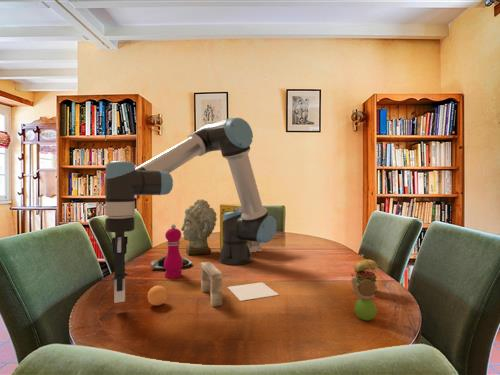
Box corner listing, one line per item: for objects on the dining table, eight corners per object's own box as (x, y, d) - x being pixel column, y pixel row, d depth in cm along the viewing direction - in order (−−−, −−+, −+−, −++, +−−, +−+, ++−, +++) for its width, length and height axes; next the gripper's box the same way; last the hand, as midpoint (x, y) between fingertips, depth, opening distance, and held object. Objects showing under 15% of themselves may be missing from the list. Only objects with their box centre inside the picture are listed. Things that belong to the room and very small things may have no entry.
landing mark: (262, 282, 106) (262, 282, 106) (278, 295, 93) (278, 294, 93) (227, 287, 101) (227, 286, 101) (240, 301, 89) (240, 300, 89)
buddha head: (179, 250, 160) (179, 199, 160) (213, 248, 166) (213, 198, 166) (182, 257, 144) (182, 200, 144) (219, 254, 150) (219, 199, 150)
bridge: (209, 289, 99) (209, 261, 99) (222, 305, 86) (222, 273, 86) (201, 290, 98) (201, 262, 98) (212, 306, 85) (212, 274, 85)
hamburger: (366, 296, 92) (366, 258, 92) (349, 289, 99) (349, 253, 99) (383, 292, 96) (383, 255, 96) (365, 286, 102) (365, 251, 102)
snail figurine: (347, 315, 79) (347, 270, 79) (370, 314, 79) (370, 270, 79) (356, 324, 73) (356, 276, 73) (380, 323, 74) (380, 276, 74)
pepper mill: (177, 279, 110) (177, 225, 110) (160, 278, 111) (160, 225, 111) (185, 273, 117) (185, 223, 117) (169, 272, 118) (169, 223, 118)
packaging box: (238, 255, 148) (238, 205, 148) (219, 250, 160) (219, 204, 160) (261, 250, 159) (261, 204, 159) (242, 246, 171) (242, 203, 171)
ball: (166, 300, 89) (166, 282, 89) (168, 306, 84) (168, 287, 84) (147, 302, 87) (147, 284, 87) (148, 309, 82) (148, 290, 82)
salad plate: (145, 262, 136) (145, 252, 136) (184, 258, 143) (184, 249, 143) (151, 273, 118) (151, 262, 118) (195, 268, 126) (195, 257, 126)
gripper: (107, 215, 87) (106, 295, 87) (103, 219, 75) (102, 312, 75) (134, 214, 90) (133, 291, 89) (134, 218, 77) (134, 308, 77)
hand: (119, 301), depth 82 cm, fingers closed
